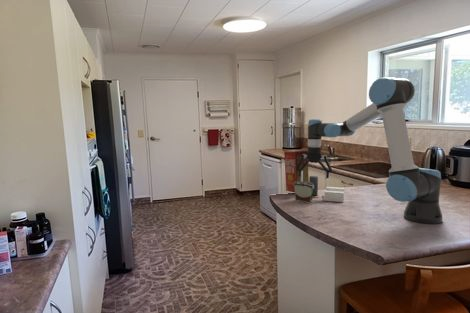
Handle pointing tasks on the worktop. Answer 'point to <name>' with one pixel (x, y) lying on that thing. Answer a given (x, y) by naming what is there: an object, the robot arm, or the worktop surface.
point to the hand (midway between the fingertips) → (313, 183)
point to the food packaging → (294, 168)
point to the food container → (303, 191)
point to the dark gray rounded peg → (315, 182)
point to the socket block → (334, 194)
